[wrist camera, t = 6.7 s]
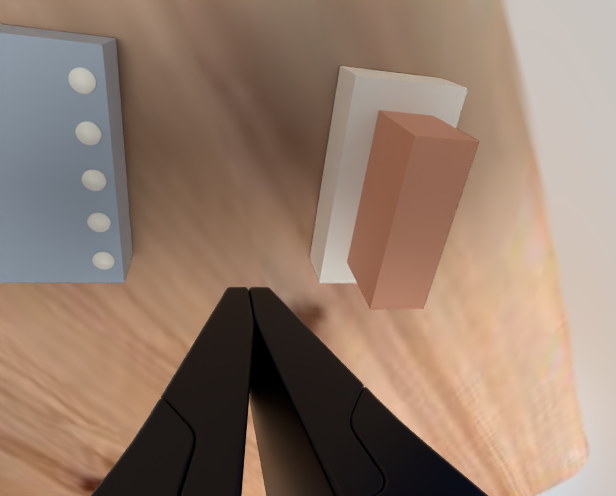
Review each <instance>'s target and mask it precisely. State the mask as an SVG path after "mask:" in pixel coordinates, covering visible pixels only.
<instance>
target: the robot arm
mask: <svg viewBox="0 0 616 496" xmlns="http://www.w3.org/2000/svg"><path fill="white" fill-rule="evenodd" d="M249 399H250V406H251V411H252V417H253V423H254V428H255V434H256V440H257V445H258V451H259V457H260V462H261V468H262V474H263V479H264V485H265V490H266V496H488V495H487V494H486V493H484V492H483V491H482V490H481V489H480V488H479V487H477V486H476V485H475V484H474V483H473V482H471V481H470V480H469V479H468V478H467V477H465V476H464V475H463V474H462V473H461V472H459V471H458V470H457V469H456V468H455V467H454V466H452V465H451V464H450V463H449V462H448V461H446V460H445V459H444V458H443V457H442V456H440V455H439V454H438V453H437V452H436V451H434V450H433V449H432V448H431V447H430V446H429V445H427V444H426V443H425V442H424V441H423V440H422V439H420V438H419V437H418V436H417V435H416V434H415V433H414V432H412V431H411V430H410V429H409V428H408V427H407V426H406V425H404V424H403V423H402V422H401V421H400V420H399V419H398V418H397V417H396V416H395V415H394V414H393V413H392V412H391V411H390V410H389V409H388V408H387V407H386V406H384V405H383V404H382V403H381V402H380V401H379V400H378V399H377V398H376V397H375V396H374V395H373V394H372V392H371V391H370V390H369V389H368V388H366V387H364V385H363V383H362V382H361V381H360V380H359V379H358V378H357V377H356V376H355V375H354V374H353V373H352V372H351V371H350V370H349V369H348V368H347V367H346V366H345V365H344V364H343V363H342V362H341V361H340V360H339V359H338V358H337V357H336V356H335V355H334V354H333V353H332V352H331V351H330V350H329V349H328V348H327V347H326V345H325V344H324V343H323V342H322V341H321V340H320V339H319V338H318V337H317V336H316V335H315V334H314V333H313V332H312V331H311V330H310V329H309V328H308V327H307V326H306V325H305V324H304V323H303V322H302V321H301V320H300V319H299V318H298V317H297V316H296V315H295V314H294V313H293V312H292V311H291V310H290V309H289V308H288V306H287V305H286V304H285V303H284V302H283V301H282V300H281V299H280V298H279V297H278V296H277V295H276V294H275V293H274V292H273V291H272V290H271V289H270V288H268V287H251V288H249V290H248V289H247V288H246V287H229V288H227V290H226V291H225V293H224V294H223V296H222V298H221V299H220V301H219V303H218V304H217V306H216V307H215V309H214V311H213V312H212V314H211V316H210V317H209V319H208V321H207V322H206V324H205V326H204V327H203V329H202V330H201V332H200V334H199V335H198V337H197V339H196V340H195V342H194V344H193V345H192V347H191V348H190V350H189V352H188V353H187V355H186V357H185V358H184V360H183V362H182V363H181V365H180V367H179V368H178V370H177V371H176V373H175V375H174V376H173V378H172V380H171V381H170V383H169V385H168V386H167V388H166V389H165V391H164V393H163V394H162V396H161V399H160V400H159V401H158V402H157V404H156V405H155V407H154V409H153V410H152V412H151V414H150V415H149V417H148V418H147V420H146V421H145V423H144V425H143V426H142V428H141V429H140V431H139V432H138V434H137V435H136V437H135V438H134V440H133V441H132V443H131V444H130V445H129V447H128V448H127V449H126V451H125V452H124V453H123V455H122V456H121V457H120V459H119V460H118V461H117V462H116V464H115V465H114V466H113V468H112V469H111V470H110V472H109V473H108V474H107V475H106V477H105V478H104V479H103V480H102V482H101V483H100V484H99V486H98V487H97V488H96V489H95V491H94V492H93V493H92V494H91V496H241V494H242V481H243V469H244V456H245V443H246V431H247V418H248V405H249Z"/></svg>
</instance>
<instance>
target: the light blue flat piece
mask: <svg viewBox="0 0 616 496" xmlns="http://www.w3.org/2000/svg"><path fill="white" fill-rule="evenodd" d="M132 256H133V252H132V239H131V227H130V214H129V201H128V188H127V175H126V162H125V149H124V136H123V124H122V111H121V98H120V85H119V72H118V59H117V46H116V38H111V37H103V36H94V35H86V34H78V33H70V32H62V31H54V30H46V29H38V28H29V27H21V26H13V25H5V24H0V283H124V282H125V279H126V276H127V272H128V269H129V266H130V262H131V259H132Z"/></svg>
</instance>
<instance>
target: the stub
mask: <svg viewBox="0 0 616 496" xmlns="http://www.w3.org/2000/svg"><path fill="white" fill-rule="evenodd" d="M467 91H468V88H466V87H463V86H461V85H458V84H455V83H453V82H450V81H448V80H445V79H442V78H436V77H428V76H419V75H411V74H403V73H395V72H387V71H379V70H371V69H363V68H354V67H346V66H340V69H339V76H338V82H337V88H336V95H335V101H334V107H333V114H332V120H331V126H330V133H329V139H328V145H327V152H326V158H325V164H324V171H323V177H322V183H321V190H320V196H319V202H318V209H317V215H316V221H315V227H314V234H313V240H312V246H311V253H310V259H311V262H312V265H313V268H314V270H315V273H316V276H317V278H318V281H319V283H357V284H358V286H359V288H360V290H361V292H362V294H363V296H364V298H365V300H366V302H367V304H368V306H369V308H370V309H424V306H425V303H426V300H427V297H428V294H429V291H430V288H431V285H432V282H433V279H434V276H435V273H436V269H437V266H438V263H439V260H440V257H441V254H442V251H443V248H444V245H445V242H446V239H447V236H448V233H449V230H450V227H451V224H452V221H453V218H454V215H455V212H456V209H457V206H458V203H459V200H460V197H461V194H462V191H463V188H464V185H465V182H466V179H467V176H468V173H469V170H470V167H471V164H472V161H473V158H474V155H475V152H476V149H477V146H478V143H479V141H478V140H476V139H474V138H472V137H470V136H469V135H467V134H465V133H463V132H462V131H460V130H458V129H456V127H457V124H458V120H459V117H460V114H461V110H462V107H463V104H464V100H465V97H466V94H467Z"/></svg>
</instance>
